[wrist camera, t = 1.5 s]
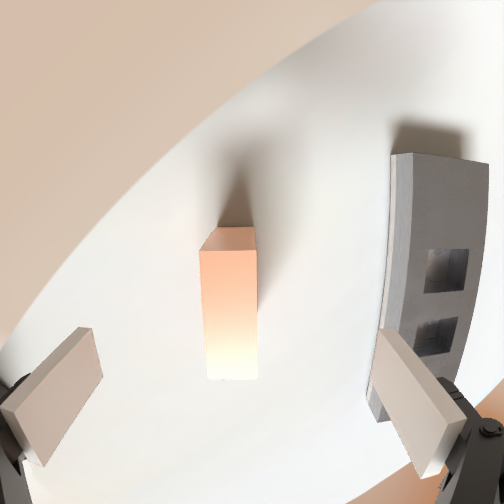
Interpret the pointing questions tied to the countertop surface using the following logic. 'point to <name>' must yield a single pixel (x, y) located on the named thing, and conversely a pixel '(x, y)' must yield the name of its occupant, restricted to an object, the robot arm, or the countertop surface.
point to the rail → (433, 258)
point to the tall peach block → (230, 302)
